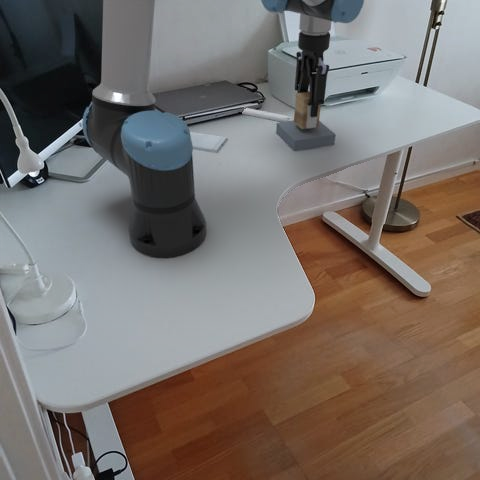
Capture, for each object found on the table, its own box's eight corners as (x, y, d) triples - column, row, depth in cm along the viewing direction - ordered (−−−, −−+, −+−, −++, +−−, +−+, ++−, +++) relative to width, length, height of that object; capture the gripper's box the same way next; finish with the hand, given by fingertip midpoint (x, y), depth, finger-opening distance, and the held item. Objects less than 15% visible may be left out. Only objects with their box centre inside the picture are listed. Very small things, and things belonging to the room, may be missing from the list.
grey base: (293, 151, 119) (294, 140, 117) (276, 132, 128) (276, 122, 126) (334, 144, 122) (335, 134, 120) (314, 127, 131) (315, 117, 129)
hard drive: (173, 142, 121) (217, 149, 117) (186, 130, 127) (227, 136, 124) (174, 148, 122) (217, 155, 118) (186, 135, 128) (227, 141, 125)
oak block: (301, 129, 120) (304, 99, 115) (293, 122, 124) (296, 93, 119) (318, 126, 121) (321, 97, 116) (310, 119, 125) (313, 91, 120)
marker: (294, 122, 134) (295, 115, 133) (291, 125, 133) (292, 117, 131) (240, 112, 141) (240, 104, 139) (237, 114, 139) (237, 107, 138)
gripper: (347, 39, 102) (334, 134, 117) (312, 22, 116) (304, 109, 130) (318, 42, 100) (308, 138, 115) (285, 24, 114) (280, 112, 128)
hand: (306, 123), depth 122 cm, fingers closed on oak block, 5 cm apart
